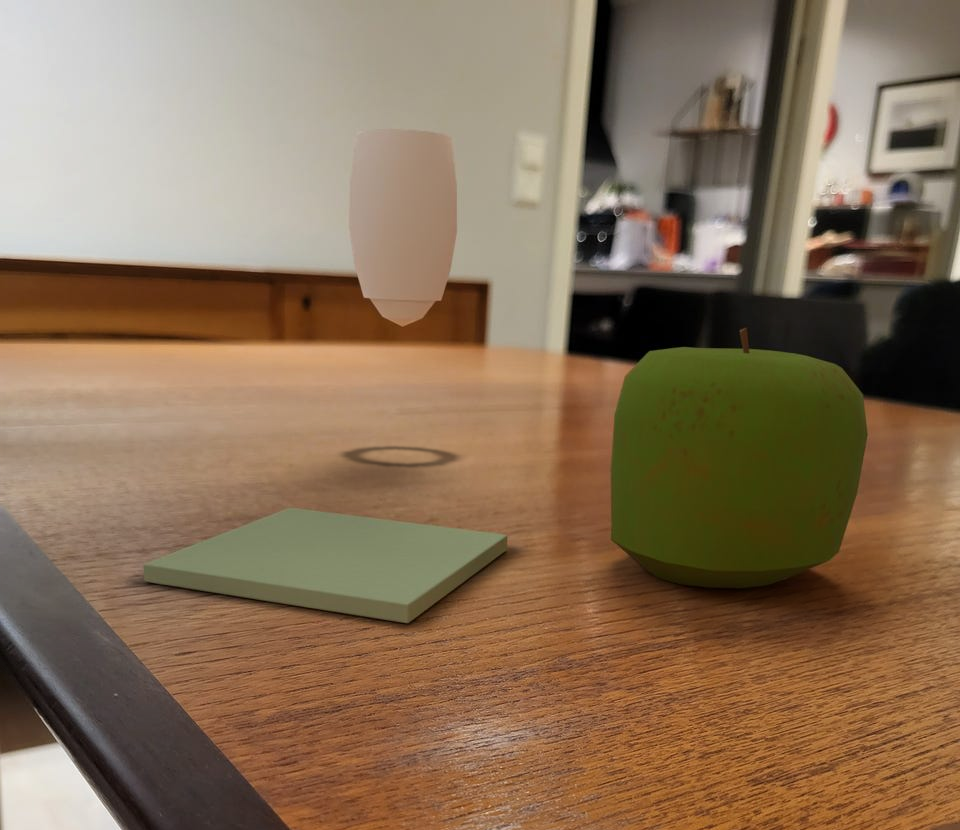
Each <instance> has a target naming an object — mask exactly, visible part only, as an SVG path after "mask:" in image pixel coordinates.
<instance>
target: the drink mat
mask: <svg viewBox="0 0 960 830" xmlns="http://www.w3.org/2000/svg"><path fill="white" fill-rule="evenodd" d="M508 537H509V536H508V535H507V534H505V533H498V532H497V533H495V532H490V531H489V532H487V531H481V530H472V529H464V528H456V527H449V526H440V525H433V524H424V523H417V522H410V521H409V522H407V521H401V520H400V521H399V520H394V519H393V520H392V519H385V518H376V517H369V516H368V517H367V516H361V515H353V514H344V513H338V512H337V513H336V512H328V511H321V510H312V509H304V508H297V507H288V508H284V509H283V510H280V511H277V512H275V513H272V514H269V515H267V516H265V517H261V518H259V519H257V520H254V521H251V522H248V523H247V524H244V525H241V526H239V527H236V528H233V529H230V530H228V531H225V532H223V533H220V534H218V535H215V536H212V537H210V538H207V539H205V540H202V541H199V542H197V543H194V544H192V545H189V546H187V547H184V548H181V549H178V550H176V551H173V552H171V553H169V554H166V555H163V556H161V557H157V558H155V559H153V560H150V561H148V562H145V563H143V565H142V566H143V579H144V582H145V583H151V584H157V585H164V586H170V587H175V588H181V589H182V588H183V589H189V590H194V591H202V592H209V593H213V594H220V595H226V596H231V597H238V598H245V599H253V600H258V601H264V602H271V603H277V604H283V605H290V606H297V607H302V608H309V609H314V610H321V611H327V612H334V613H341V614H348V615H352V616H358V617H365V618H371V619H378V620H385V621H391V622H396V623H402V624H409V623H410V622H412V621H413V620H415V619H416V618H418V617H419V616H420V615H421V614H423V613H424V612H425V611H427V610H428V609H429V608H431V607H432V606H434V605H435V604H436V603H438V602H439V601H440V600H442V599H443V598H444V597H447V595H449V594H450V593H451V592H453V591H454V590H455V589H457V588H458V587H459V586H460V585H463V583H465V582H466V581H467V580H469V579H470V578H471V577H473V576H474V575H475V574H477V573H478V572H479V571H481V570H483V568H485V567H486V566H487V565H489V564H490V563H491V562H493V561H494V560H495V559H497V558H498V557H500V556H501V555H502V554H504V553H505V552H506V551H507V550H508V539H509V538H508Z"/></svg>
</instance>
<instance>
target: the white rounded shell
mask: <svg viewBox="0 0 960 830" xmlns="http://www.w3.org/2000/svg"><path fill="white" fill-rule="evenodd" d="M353 148H354V149H353V157H352V163H351V172H350V178H349V179H350V180H349V184H350V185H349V209H348V210H349V213H348V214H349V215H348V229H349V236H350V243H351V249H352V250H351V251H352V255H353V263H354V264H353V265H354V268H355V272H356V275H357V278H358V282H359V286H360V289H361V293H362V297H363V298H364V299H369V300H370V302H371V303H372V304H373V305H374V307H375V308H376V310H377V311H378V313H379V314H380V316H381V317H382V318H384V319H386V320H388V321H390V322H392V323H395V324H396V325H398V326H401V327H402V328H403V327H405V326H407V325H410V324H412V323H415V322H417V321H419V320H422V319H423V318H424V317H425V316H426V315H427V313H428V312H429V310H430V309H431V308H432V307H433V305H434V304H435V303H436V302H438V301H442V299H443V296H444V292H445V289H446V287H447V283H448V280H449V277H450V273H451V270H452V264H453V257H454V253H455V246H456V241H457V235H458V185H457V184H458V183H457V174H456V166H455V156H454V147H453V138H452V136H451V135H448V134H445V133H441V132H434V131H427V130H417V129H405V128H404V129H403V128H401V129H399V128H373V129H364V130H359V131H357V132H356V134H355V141H354V147H353Z"/></svg>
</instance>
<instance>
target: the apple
mask: <svg viewBox="0 0 960 830" xmlns="http://www.w3.org/2000/svg"><path fill="white" fill-rule="evenodd" d="M739 335H740V341H741V347H742V348H724V347H723V348H719V347H718V348H715V347H714V348H713V347H712V348H711V347H710V348H709V347H690V346H689V347H688V346H681V347H672V348H663V349H656V350H649V351H648V352H647V353H645V355H644V356H643V357H642V358H641V359H640V360H639V361H638V362H637V363H636V364H635V365H634V366H633V367H632V368H631V369H630V370H629V371H628V372H627V373H626V374H625V375H624V378H623V380H622V384H621V388H620V393H619V396H618V400H617V404H616V407H615V411H614V417H613V431H612V443H611V444H612V447H611V458H610V460H611V461H610V522H611V524H610V525H611V526H610V527H611V528H610V540H611V541H612V542H613V543H614V544H616V545H617V546H618V547H619V548H620V549H621V550H623V551H624V552H625V553H626V554H627V555H628V556H629V557H630V558H631V559H633V560H634V561H635V562H636V563H638V564H639V565H640V567H642V568H643V569H644V570H645V571H647V572H648V573H650V574H651V575H653V576H654V577H655V578H657V579H660V580H663V581H667V582H670V583H674V584H677V585H682V586H692V587H700V588H701V587H702V588H710V589H714V588H715V589H748V588H756V587H757V588H758V587H763V586H764V587H765V586H766V587H767V586H770V585H773V584H776V583H779V582H781V581H784V580H787V579H789V578H792V577H794V576H796V575H799V574H801V573H803V572H806V571H809V570H811V569H813V568H815V567H818V566H820V565H822V564H825V563H827V562H829V561H831V560H832V559H833V558H834V557H835V556H836V555H838V553H840V549H841V546H842V543H843V541H844V538H845V534H846V531H847V528H848V524H849V521H850V518H851V515H852V511H853V508H854V505H855V502H856V499H857V496H858V490H859V485H860V479H861V474H862V469H863V463H864V457H865V452H866V446H867V442H868V435H869V433H868V425H867V418H866V409H865V401H864V399H865V398H864V394H863V392H862V391H861V390H860V389H859V387H858V386H857V385H856V384H855V383H854V381H853V380H852V379H851V378H850V376H849V375H848V373H847V372H846V371H845V370H844V369H843V368H842V367H841V366H839V365H838V364H836V363H833V362H830V361H826V360H822V359H819V358H816V357H812V356H808V355H804V354H801V353H794V352H785V351H777V350H770V349H769V350H768V349H767V350H766V349H756V348H755V349H754V348H750V347H749V336H748V327H744V328H742V329H741V328H740V329H739Z"/></svg>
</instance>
